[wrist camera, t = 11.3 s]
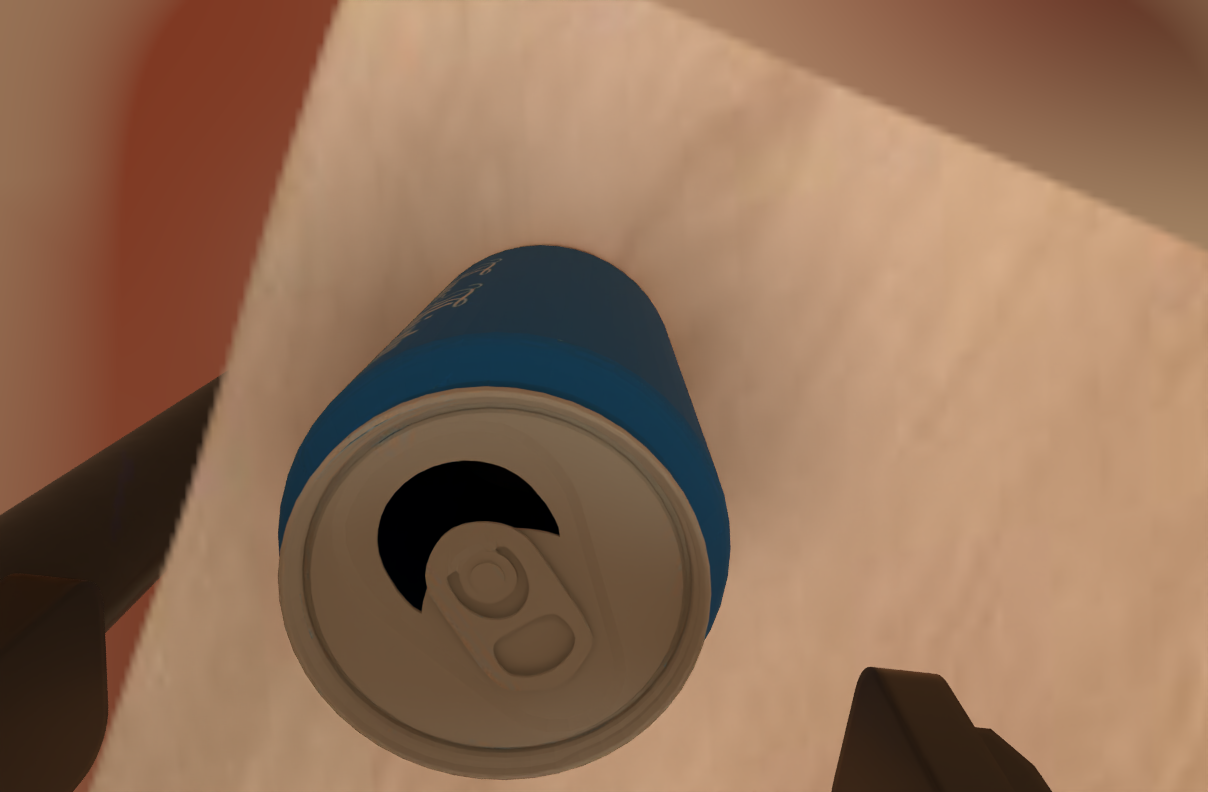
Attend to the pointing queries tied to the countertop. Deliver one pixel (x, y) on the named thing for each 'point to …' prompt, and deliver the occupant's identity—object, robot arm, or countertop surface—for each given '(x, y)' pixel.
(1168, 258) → the countertop surface
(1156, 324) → the countertop surface
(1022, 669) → the countertop surface
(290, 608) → the beverage can
